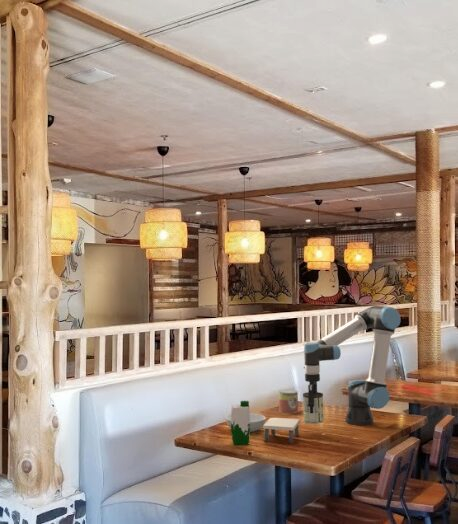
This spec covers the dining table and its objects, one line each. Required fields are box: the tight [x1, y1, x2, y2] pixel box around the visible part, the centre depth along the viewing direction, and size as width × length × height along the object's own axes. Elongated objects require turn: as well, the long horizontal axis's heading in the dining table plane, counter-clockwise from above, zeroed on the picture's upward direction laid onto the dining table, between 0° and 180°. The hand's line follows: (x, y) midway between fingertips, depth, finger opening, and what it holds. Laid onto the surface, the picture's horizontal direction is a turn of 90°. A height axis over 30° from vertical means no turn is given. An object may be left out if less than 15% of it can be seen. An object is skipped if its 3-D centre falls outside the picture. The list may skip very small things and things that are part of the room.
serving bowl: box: [225, 413, 267, 433], centre depth 319 cm, size 21×21×7 cm
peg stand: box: [262, 417, 301, 445], centre depth 301 cm, size 15×18×8 cm
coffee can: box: [302, 391, 325, 425], centre depth 311 cm, size 10×10×14 cm
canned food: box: [278, 389, 299, 414], centre depth 365 cm, size 11×11×12 cm
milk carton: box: [230, 400, 251, 446], centre depth 293 cm, size 9×9×20 cm
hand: (313, 417), depth 310 cm, fingers closed on coffee can, 10 cm apart
